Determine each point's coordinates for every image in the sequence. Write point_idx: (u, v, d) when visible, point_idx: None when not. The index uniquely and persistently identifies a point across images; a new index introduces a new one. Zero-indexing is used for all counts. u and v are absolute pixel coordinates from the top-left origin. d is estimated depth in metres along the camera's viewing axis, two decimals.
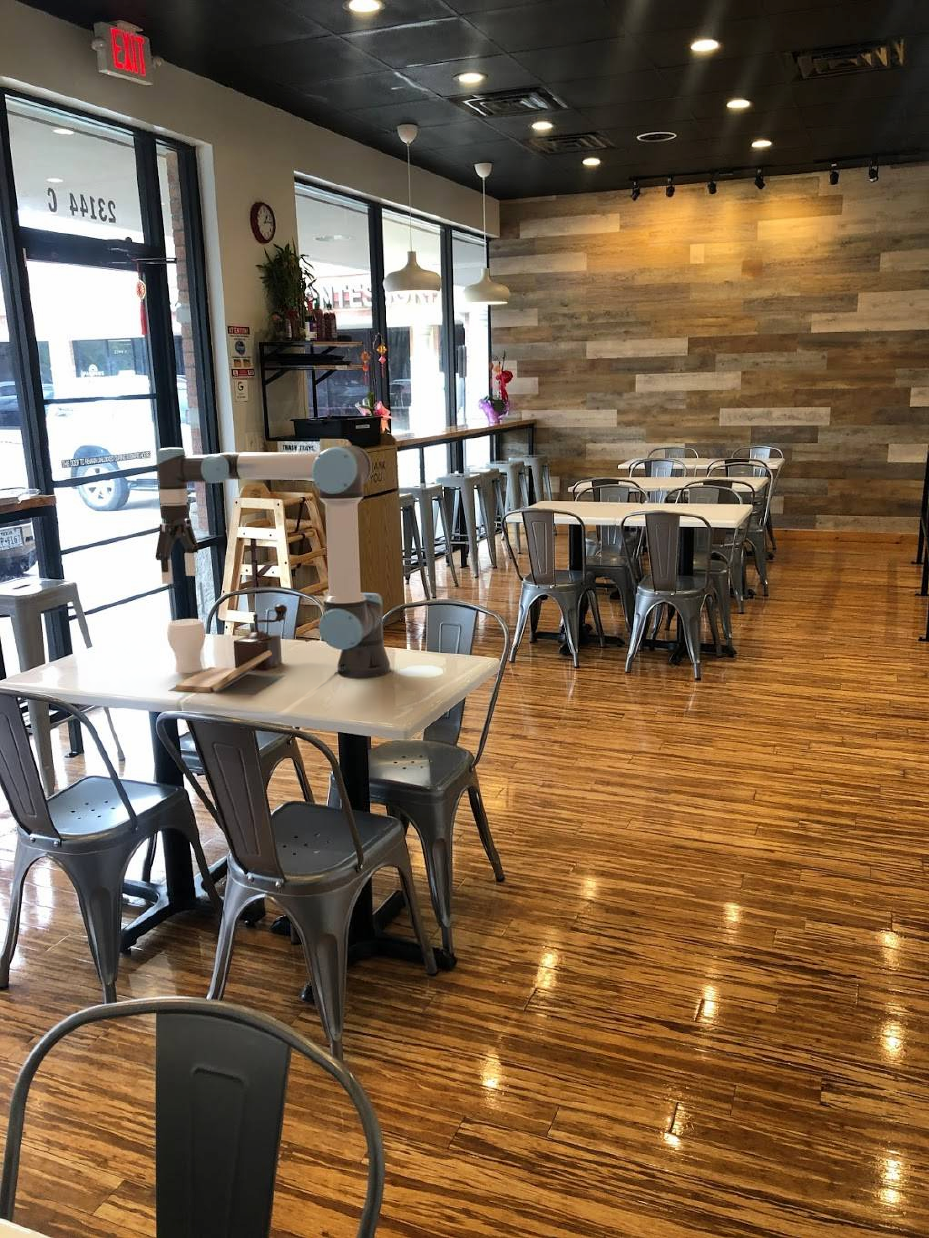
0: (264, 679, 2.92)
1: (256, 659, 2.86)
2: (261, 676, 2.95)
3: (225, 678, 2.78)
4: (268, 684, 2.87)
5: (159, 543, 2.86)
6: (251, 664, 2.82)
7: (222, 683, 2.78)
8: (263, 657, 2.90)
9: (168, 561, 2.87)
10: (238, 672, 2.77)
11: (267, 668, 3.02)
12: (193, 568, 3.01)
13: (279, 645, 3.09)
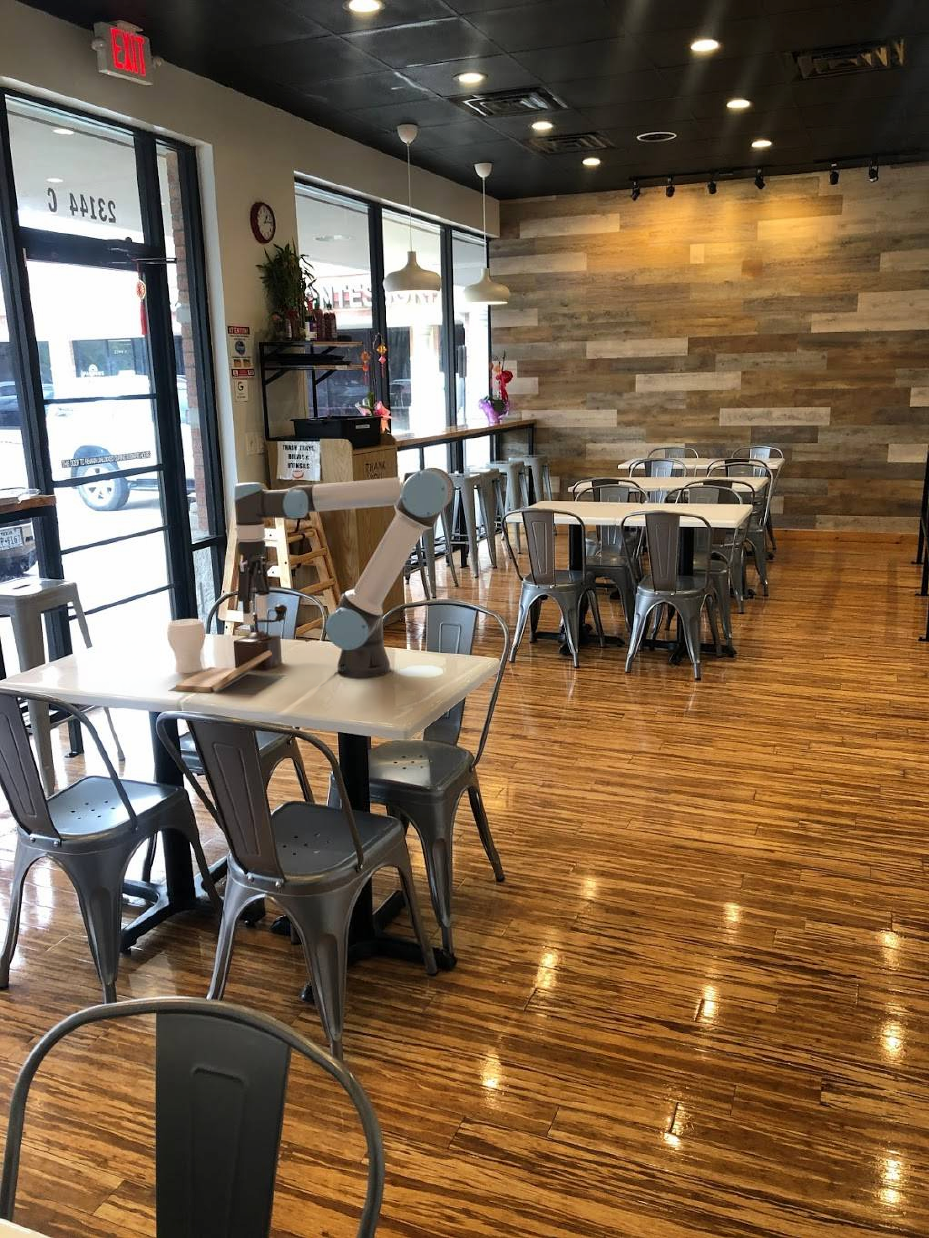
0: (264, 679, 2.92)
1: (256, 659, 2.86)
2: (261, 676, 2.95)
3: (225, 678, 2.78)
4: (268, 684, 2.87)
5: (240, 584, 2.81)
6: (251, 664, 2.82)
7: (222, 683, 2.78)
8: (263, 657, 2.90)
9: (250, 602, 2.84)
10: (238, 672, 2.77)
11: (267, 668, 3.02)
12: (265, 610, 2.93)
13: (279, 645, 3.09)
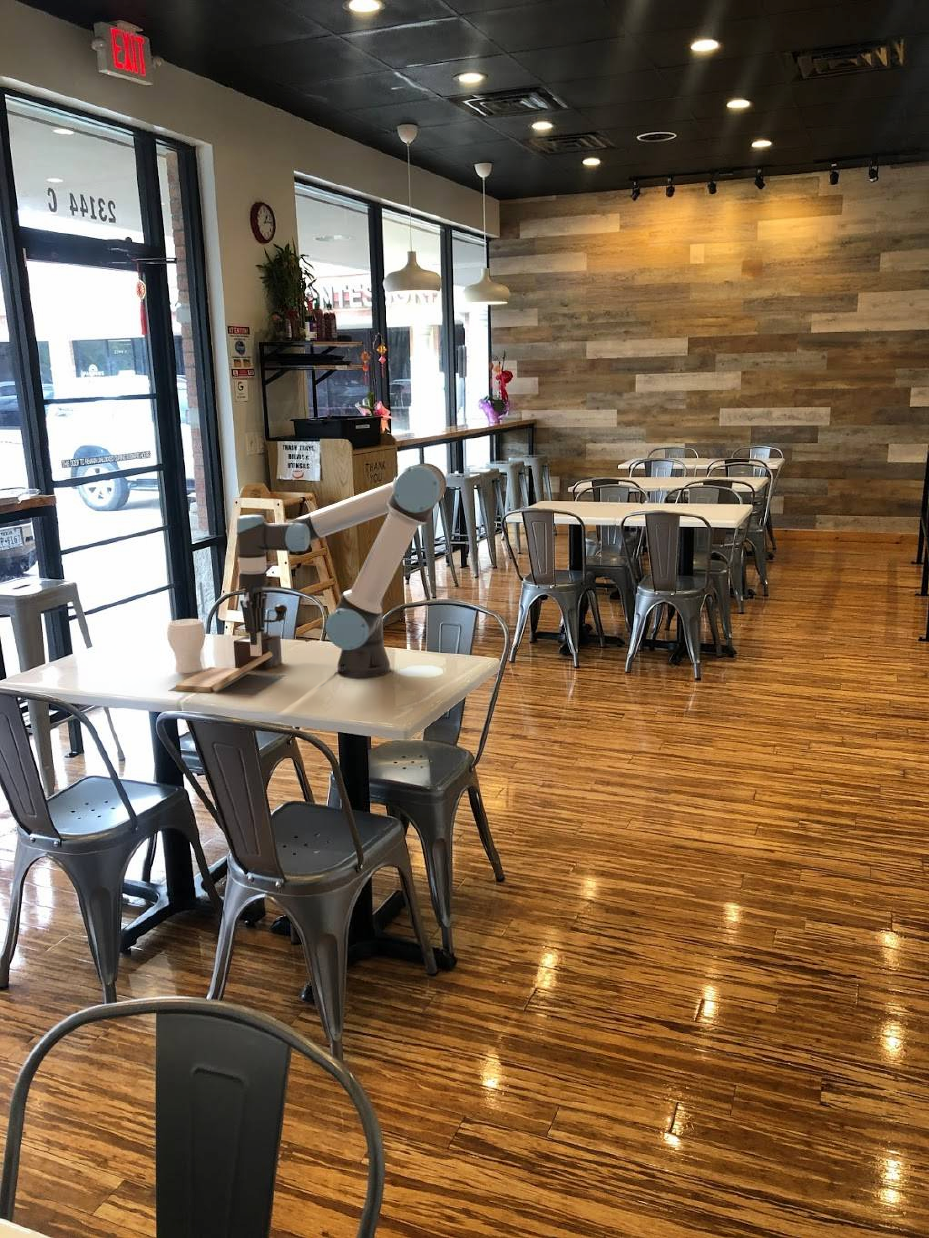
0: (264, 679, 2.92)
1: (257, 660, 2.86)
2: (261, 676, 2.95)
3: (225, 679, 2.78)
4: (268, 684, 2.87)
5: (245, 619, 2.86)
6: (252, 665, 2.83)
7: (222, 684, 2.78)
8: (264, 658, 2.90)
9: (257, 634, 2.90)
10: (239, 673, 2.77)
11: (267, 668, 3.02)
12: None
13: (279, 645, 3.09)
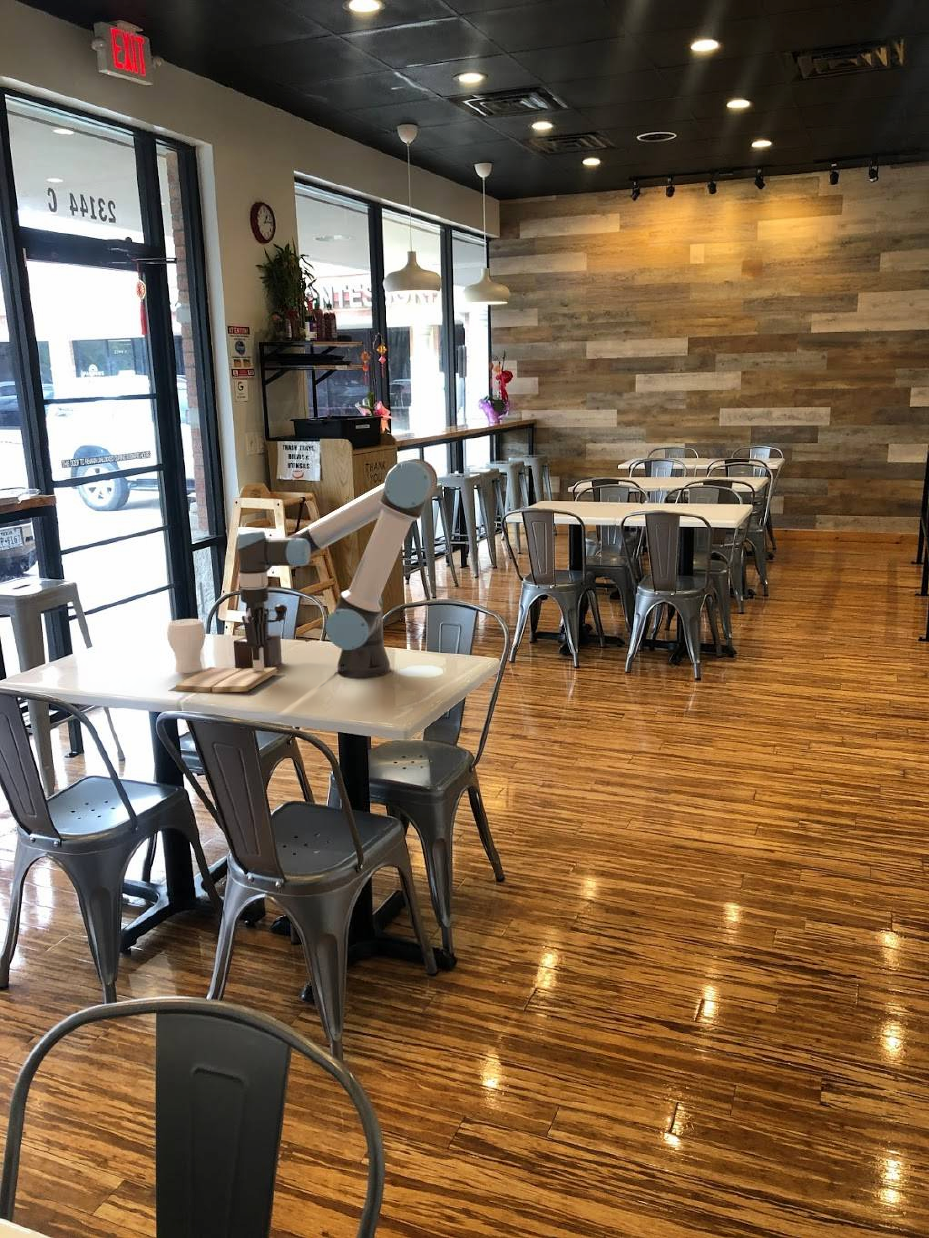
0: None
1: (262, 677, 2.87)
2: None
3: (228, 687, 2.78)
4: (268, 684, 2.87)
5: (247, 634, 2.86)
6: (256, 683, 2.83)
7: (223, 690, 2.79)
8: (268, 675, 2.91)
9: (259, 649, 2.91)
10: (243, 690, 2.77)
11: None
12: None
13: (279, 645, 3.09)
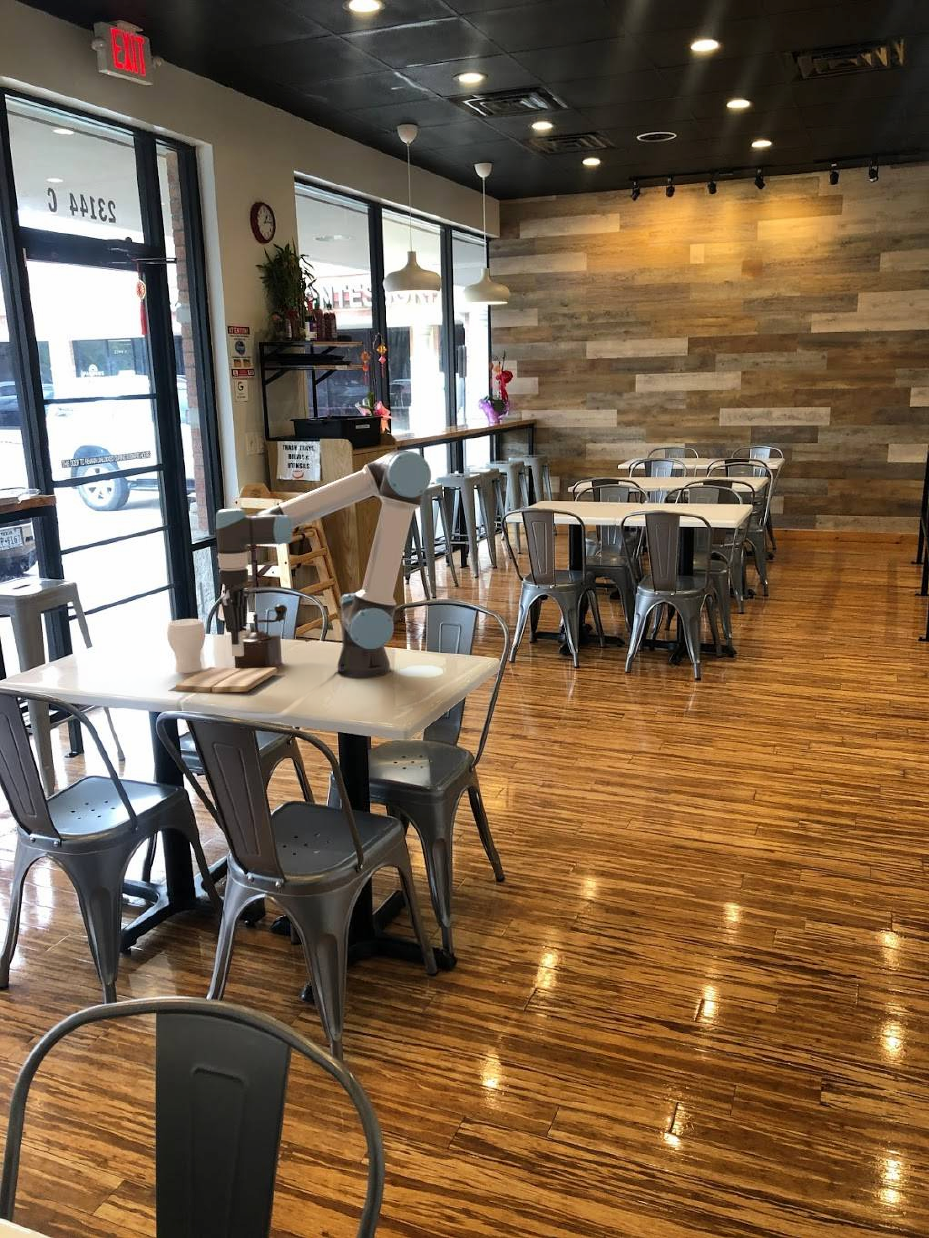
0: None
1: (262, 677, 2.87)
2: None
3: (228, 687, 2.78)
4: (268, 684, 2.87)
5: (226, 617, 2.74)
6: (256, 683, 2.83)
7: (223, 690, 2.79)
8: (268, 675, 2.91)
9: (238, 633, 2.78)
10: (243, 690, 2.77)
11: None
12: None
13: (279, 645, 3.09)
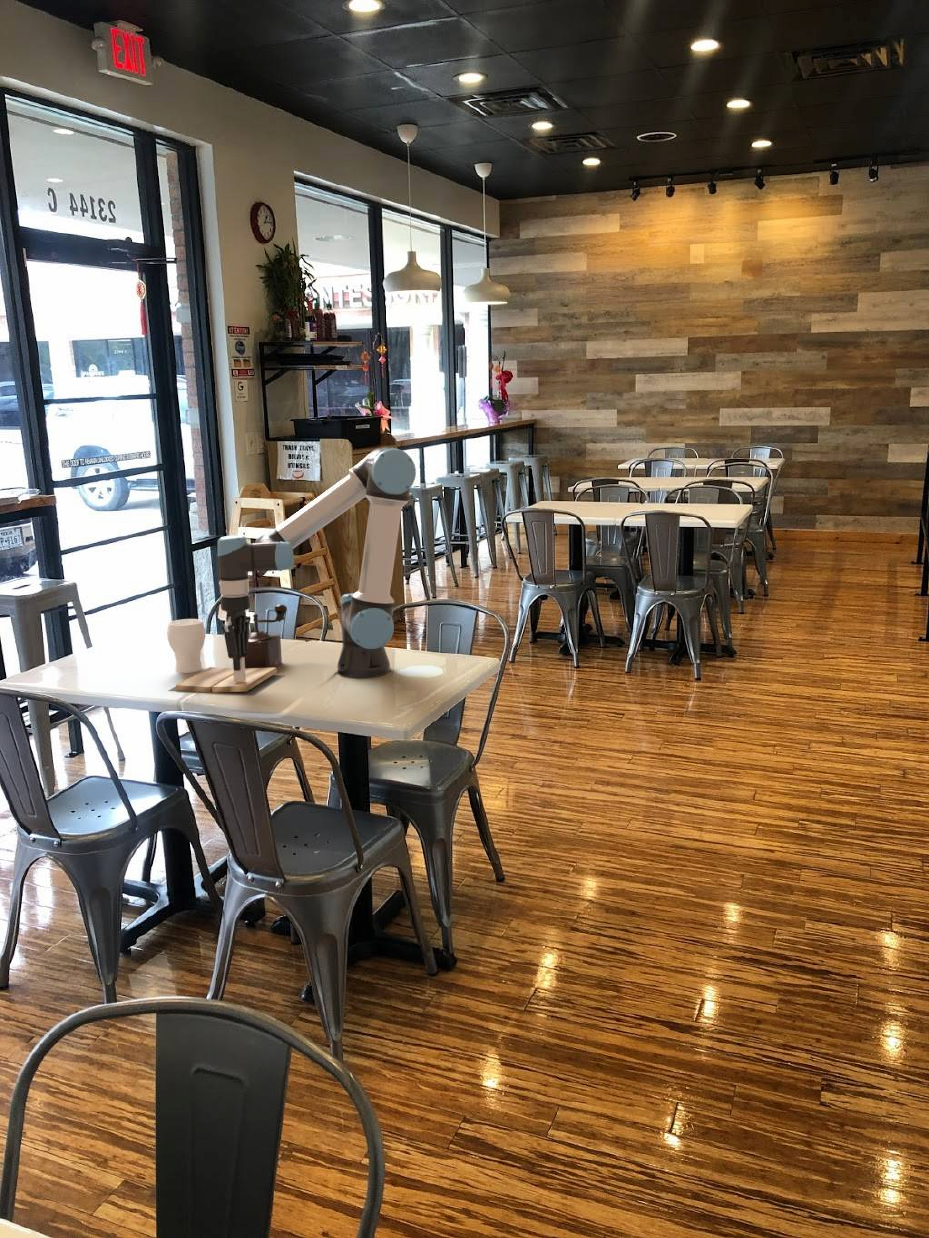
0: None
1: (262, 677, 2.87)
2: None
3: (228, 687, 2.78)
4: (268, 684, 2.87)
5: (227, 644, 2.75)
6: (256, 683, 2.83)
7: (223, 690, 2.79)
8: (268, 675, 2.91)
9: (240, 659, 2.79)
10: (243, 690, 2.77)
11: None
12: None
13: (279, 645, 3.09)
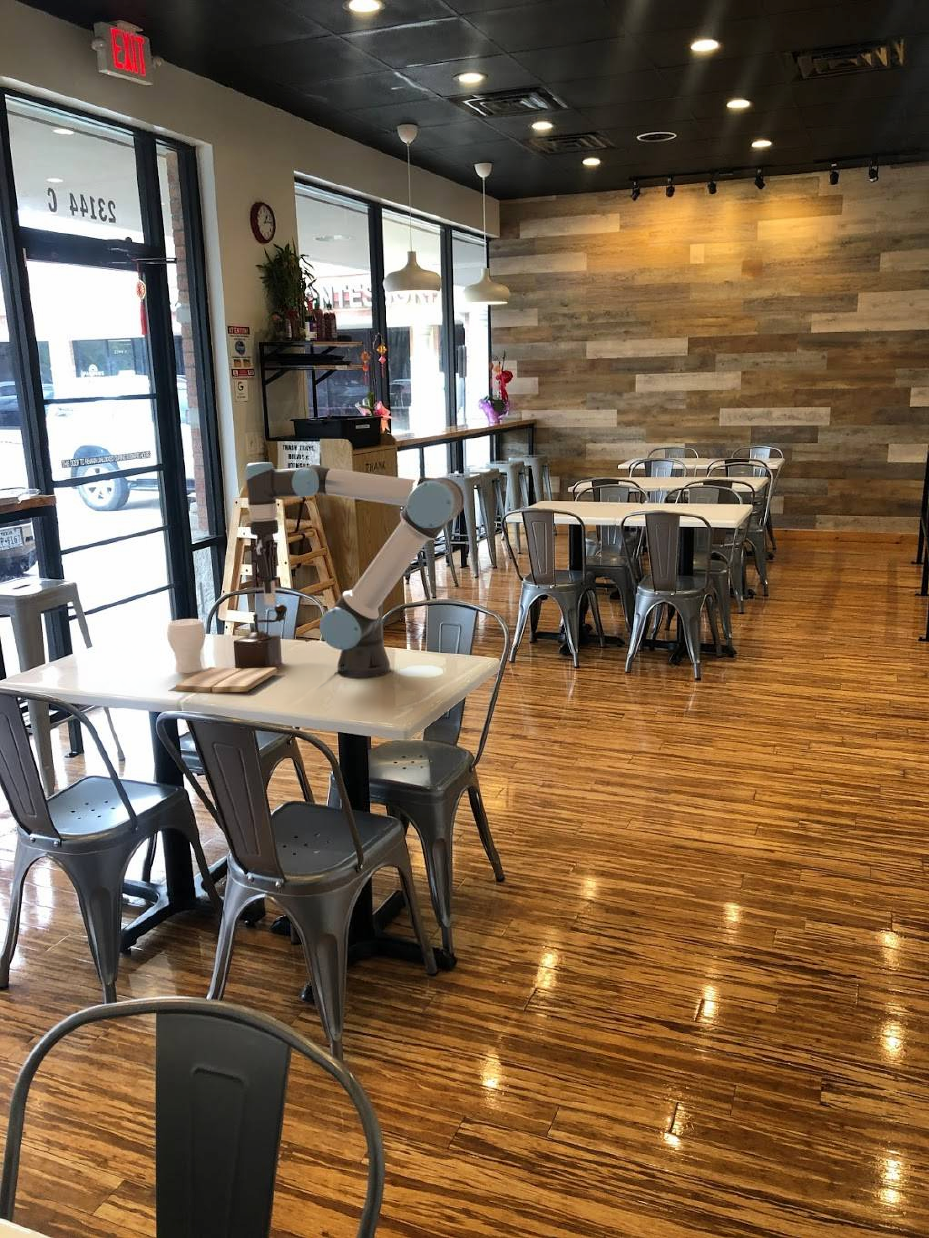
0: None
1: (262, 677, 2.87)
2: None
3: (228, 687, 2.78)
4: (268, 684, 2.87)
5: (259, 567, 2.85)
6: (256, 683, 2.83)
7: (223, 690, 2.79)
8: (268, 675, 2.91)
9: (271, 582, 2.89)
10: (243, 690, 2.77)
11: None
12: None
13: (279, 645, 3.09)
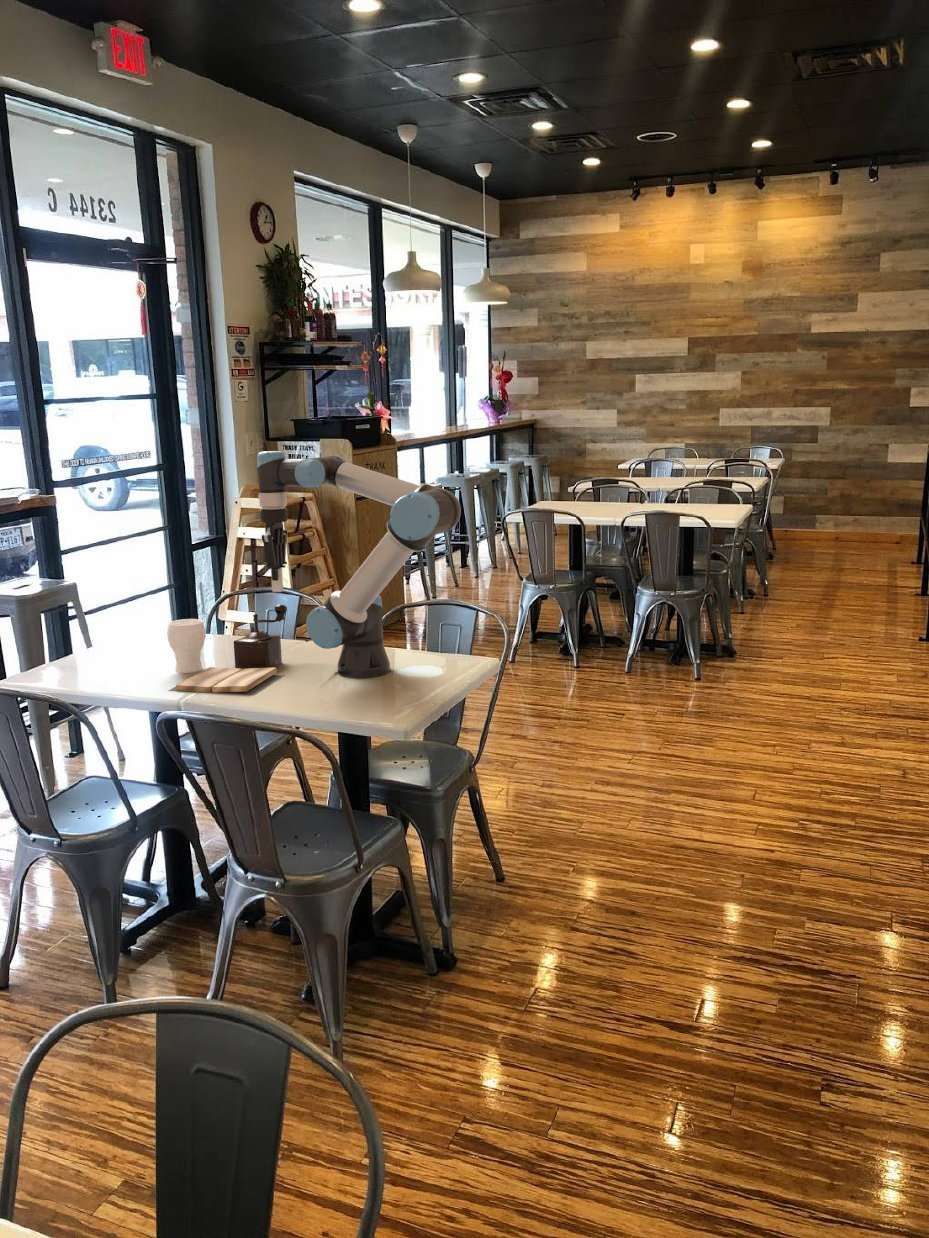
0: None
1: (262, 677, 2.87)
2: None
3: (228, 687, 2.78)
4: (268, 684, 2.87)
5: (266, 554, 2.89)
6: (256, 683, 2.83)
7: (223, 690, 2.79)
8: (268, 675, 2.91)
9: (278, 570, 2.93)
10: (243, 690, 2.77)
11: None
12: None
13: (279, 645, 3.09)
